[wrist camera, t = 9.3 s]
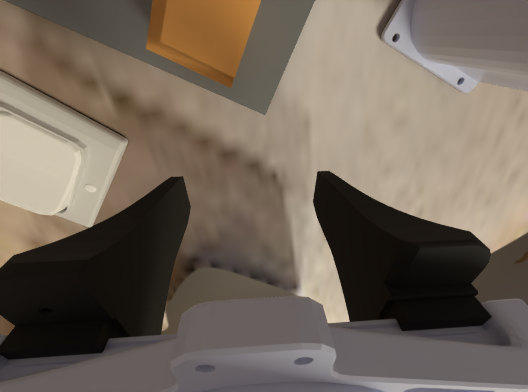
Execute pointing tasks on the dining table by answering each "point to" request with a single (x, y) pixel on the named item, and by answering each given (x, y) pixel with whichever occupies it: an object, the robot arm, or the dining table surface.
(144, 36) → the board
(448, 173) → the dining table surface
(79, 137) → the light switch
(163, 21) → the orange panelled cube
